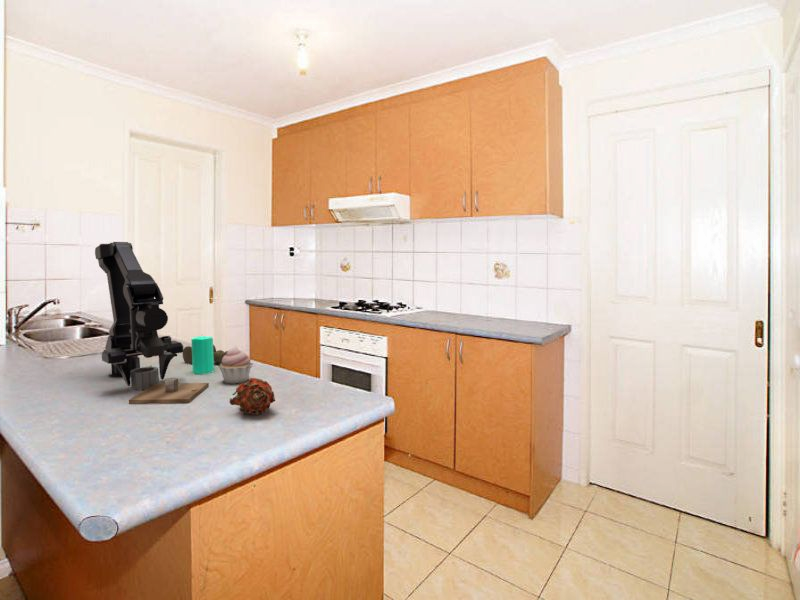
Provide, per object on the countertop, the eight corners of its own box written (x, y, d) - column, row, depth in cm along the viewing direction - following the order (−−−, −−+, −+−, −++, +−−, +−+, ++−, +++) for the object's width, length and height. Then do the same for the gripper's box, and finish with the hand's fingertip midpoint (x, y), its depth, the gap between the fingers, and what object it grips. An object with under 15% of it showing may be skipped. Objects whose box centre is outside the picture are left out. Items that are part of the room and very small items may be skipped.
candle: (206, 374, 137) (204, 335, 136) (188, 373, 139) (186, 334, 137) (218, 369, 143) (216, 331, 142) (200, 368, 144) (199, 330, 143)
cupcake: (260, 380, 131) (259, 346, 130) (230, 387, 124) (229, 351, 123) (242, 374, 137) (241, 341, 136) (212, 381, 130) (211, 346, 129)
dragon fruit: (266, 427, 101) (239, 421, 109) (291, 397, 106) (263, 393, 114) (242, 401, 97) (216, 397, 105) (268, 371, 102) (241, 369, 110)
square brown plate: (128, 403, 111) (128, 387, 110) (155, 387, 125) (155, 372, 124) (188, 403, 112) (188, 386, 111) (208, 386, 125) (208, 371, 125)
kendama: (217, 370, 144) (174, 361, 153) (240, 365, 153) (198, 356, 162) (217, 352, 144) (174, 344, 153) (240, 347, 152) (199, 340, 161)
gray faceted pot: (126, 389, 122) (125, 371, 121) (139, 382, 129) (138, 365, 128) (152, 389, 122) (151, 371, 122) (163, 382, 129) (162, 365, 129)
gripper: (114, 333, 111) (117, 396, 113) (191, 325, 125) (193, 381, 127) (99, 328, 119) (103, 387, 120) (173, 320, 133) (176, 373, 134)
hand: (145, 382), depth 125 cm, fingers open, 8 cm apart
